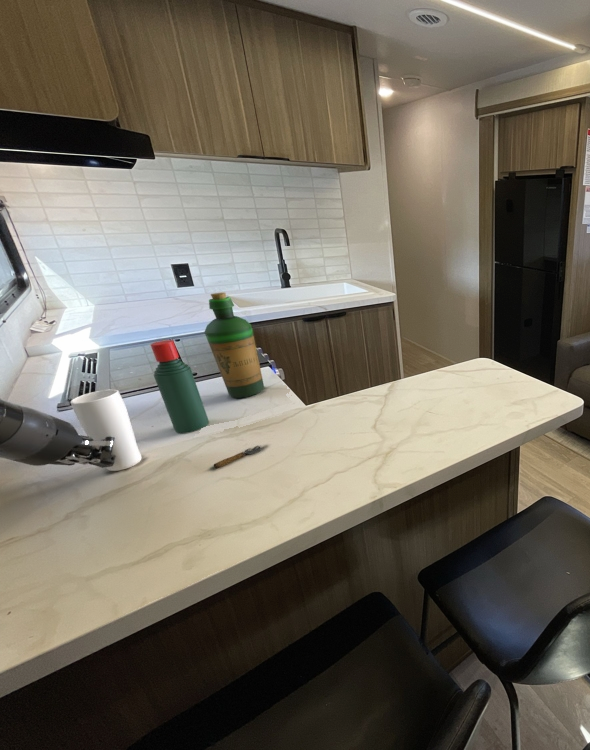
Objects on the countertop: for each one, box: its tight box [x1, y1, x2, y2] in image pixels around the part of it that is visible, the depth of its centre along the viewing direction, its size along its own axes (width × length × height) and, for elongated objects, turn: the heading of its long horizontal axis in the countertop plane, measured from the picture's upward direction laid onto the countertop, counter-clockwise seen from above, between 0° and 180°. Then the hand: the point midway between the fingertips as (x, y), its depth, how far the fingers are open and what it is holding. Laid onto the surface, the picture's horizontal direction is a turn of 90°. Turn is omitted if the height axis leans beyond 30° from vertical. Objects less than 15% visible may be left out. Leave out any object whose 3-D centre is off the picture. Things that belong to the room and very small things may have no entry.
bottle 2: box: [204, 292, 265, 399], centre depth 109 cm, size 11×11×28 cm
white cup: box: [69, 389, 142, 472], centre depth 77 cm, size 7×7×15 cm
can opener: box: [213, 445, 265, 469], centre depth 80 cm, size 9×2×1 cm, turn 140°
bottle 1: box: [153, 358, 210, 434], centre depth 91 cm, size 7×7×20 cm
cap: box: [150, 339, 180, 363], centre depth 88 cm, size 4×4×4 cm
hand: (109, 461), depth 76 cm, fingers closed
